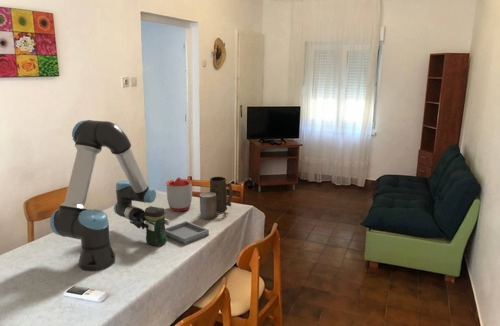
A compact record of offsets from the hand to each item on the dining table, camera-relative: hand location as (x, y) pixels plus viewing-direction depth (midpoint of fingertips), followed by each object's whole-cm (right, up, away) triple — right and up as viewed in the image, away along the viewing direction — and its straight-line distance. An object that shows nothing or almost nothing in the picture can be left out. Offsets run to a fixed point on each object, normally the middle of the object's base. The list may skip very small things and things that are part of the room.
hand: (161, 225), depth 192 cm
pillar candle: (+19, -2, +41) cm, 45 cm away
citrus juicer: (-1, +2, +55) cm, 55 cm away
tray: (+9, -7, +15) cm, 19 cm away
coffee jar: (-4, -10, +5) cm, 12 cm away
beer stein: (+26, +1, +53) cm, 59 cm away
